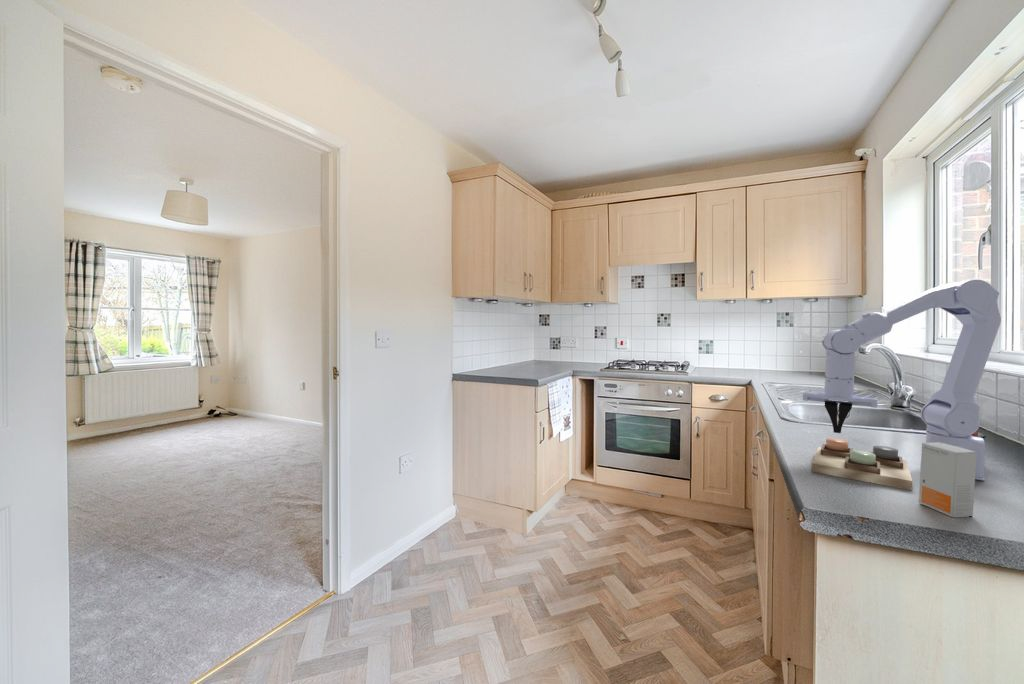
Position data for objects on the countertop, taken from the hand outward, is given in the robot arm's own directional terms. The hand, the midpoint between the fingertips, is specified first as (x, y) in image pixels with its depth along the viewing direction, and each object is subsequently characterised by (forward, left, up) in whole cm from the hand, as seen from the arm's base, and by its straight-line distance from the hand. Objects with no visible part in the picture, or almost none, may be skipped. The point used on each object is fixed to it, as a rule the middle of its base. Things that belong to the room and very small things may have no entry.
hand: (837, 432), depth 105 cm
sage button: (-5, +9, -4) cm, 11 cm away
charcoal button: (-9, +1, -4) cm, 10 cm away
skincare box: (-17, +21, -8) cm, 28 cm away
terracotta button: (0, 0, -4) cm, 4 cm away
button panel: (-5, +4, -7) cm, 10 cm away
